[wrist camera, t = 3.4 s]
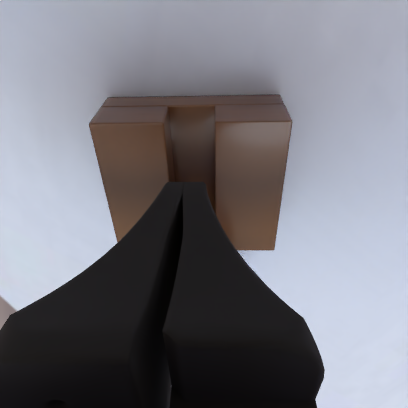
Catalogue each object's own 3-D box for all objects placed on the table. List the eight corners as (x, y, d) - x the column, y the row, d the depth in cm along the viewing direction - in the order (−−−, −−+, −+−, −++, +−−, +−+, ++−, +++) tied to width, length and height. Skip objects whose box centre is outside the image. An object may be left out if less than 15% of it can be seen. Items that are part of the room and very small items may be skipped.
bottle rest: (266, 213, 20) (274, 250, 17) (130, 214, 20) (119, 250, 18) (280, 94, 15) (292, 121, 13) (107, 96, 16) (87, 123, 13)
